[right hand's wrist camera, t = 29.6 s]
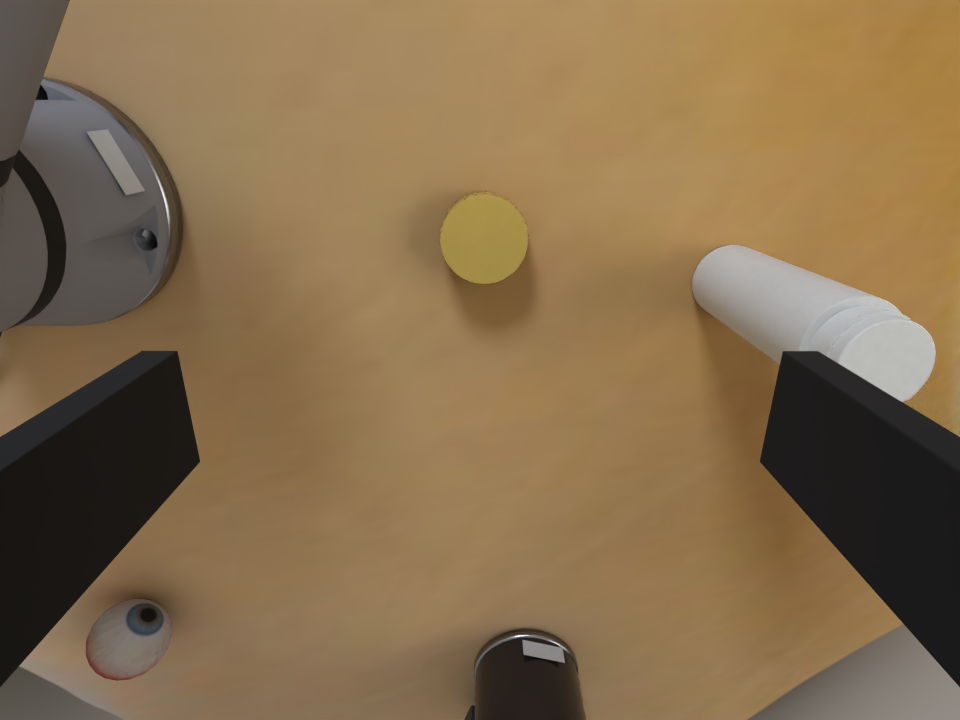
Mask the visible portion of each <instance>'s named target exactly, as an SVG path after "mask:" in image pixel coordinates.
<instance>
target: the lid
mask: <svg viewBox="0 0 960 720" xmlns="http://www.w3.org/2000/svg"><path fill="white" fill-rule="evenodd" d="M522 217H523V215H522V213H521V212H519V211H518V210H517V208H516V205H515V204H512V203H511V202H510V201H509V200H508V199H507V198H506V197H505V198H504V197H502V196H500V195H498V194H497V193H495V194H494V193H488V192H487V191H485V192H480V193H477V192H475V193H474V194H471V195H468V196H467V195H465V197H464V198H462V199H461V200H459V201H456V203H455V205H454V206H453V207H452V208H451V209H449V210H448V214H447V216H446V218H444V220H443V226H442V228H441V230H440V233H441V235H440V245H441V251H442V254H443V257H444V259H445V261H446V263H447V264H448V266H449V267H450V268H451V269H452V271H453V272H455V273H456V274H457V275H458V276H460V277H461V278H463V279H465V280H467V281H469V282H473V283H477V284H491V283H495V282H499V281H501V280H503V279H505V278H507V277H509V276H510V275H511V274H513V273H514V272H515V271H516V270H517V268H518V267H519V266H520V265H521V263H522V261H523V259H524V258H525V255H526V251H527V248H528V237H529V235H528V232H527V228H526V227H527V224H526V223H525V221H524V220H523V218H522Z"/></svg>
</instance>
